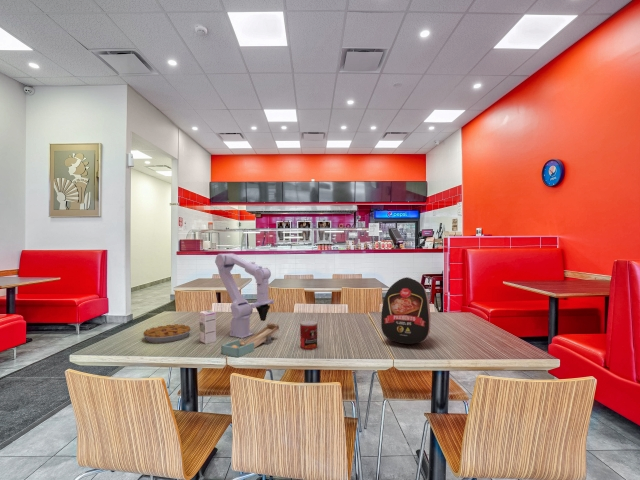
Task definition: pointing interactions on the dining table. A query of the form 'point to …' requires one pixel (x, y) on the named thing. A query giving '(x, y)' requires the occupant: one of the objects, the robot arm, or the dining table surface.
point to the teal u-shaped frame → (236, 349)
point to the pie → (166, 333)
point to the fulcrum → (267, 340)
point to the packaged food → (406, 312)
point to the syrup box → (207, 326)
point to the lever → (261, 335)
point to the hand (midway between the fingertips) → (263, 320)
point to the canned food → (308, 334)
